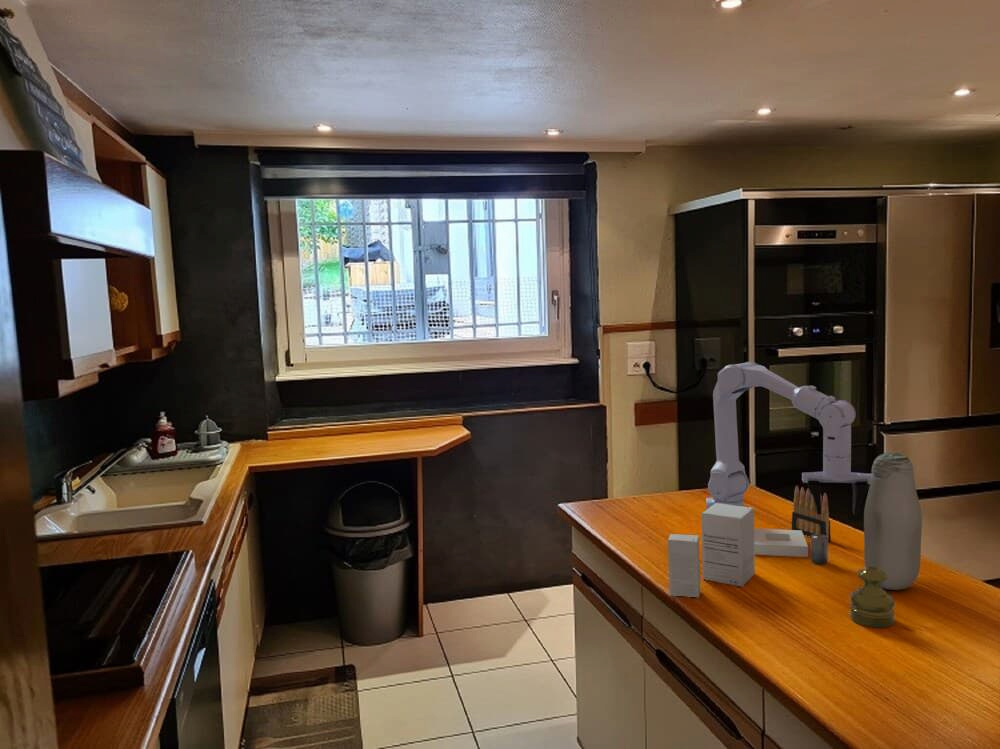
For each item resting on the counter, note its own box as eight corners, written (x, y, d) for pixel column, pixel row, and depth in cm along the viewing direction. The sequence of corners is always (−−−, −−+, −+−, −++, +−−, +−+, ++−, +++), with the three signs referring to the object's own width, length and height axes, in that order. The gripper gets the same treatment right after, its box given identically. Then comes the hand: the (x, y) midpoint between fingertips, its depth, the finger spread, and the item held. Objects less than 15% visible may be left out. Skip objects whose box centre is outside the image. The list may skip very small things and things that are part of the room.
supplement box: (715, 566, 170) (714, 501, 168) (755, 573, 165) (755, 507, 163) (701, 579, 163) (700, 512, 161) (742, 587, 157) (742, 518, 156)
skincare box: (700, 591, 157) (699, 535, 155) (699, 599, 153) (698, 541, 151) (671, 588, 159) (669, 533, 157) (668, 596, 155) (667, 539, 153)
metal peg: (812, 564, 169) (812, 538, 168) (809, 559, 172) (809, 533, 171) (828, 565, 168) (829, 539, 167) (826, 559, 171) (826, 534, 171)
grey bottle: (874, 574, 161) (875, 446, 158) (926, 586, 154) (929, 452, 151) (856, 588, 154) (857, 454, 152) (910, 601, 147) (912, 461, 144)
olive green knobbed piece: (892, 632, 135) (893, 578, 134) (847, 623, 139) (847, 571, 138) (896, 616, 141) (896, 564, 140) (852, 609, 145) (852, 558, 144)
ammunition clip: (830, 541, 184) (831, 493, 182) (825, 542, 183) (825, 494, 182) (796, 529, 193) (796, 484, 192) (791, 530, 192) (791, 485, 191)
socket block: (753, 554, 176) (753, 544, 176) (750, 538, 188) (750, 528, 188) (808, 557, 173) (808, 546, 173) (801, 540, 185) (801, 530, 185)
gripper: (805, 458, 167) (805, 517, 169) (876, 459, 164) (875, 519, 165) (800, 451, 174) (800, 508, 176) (869, 452, 171) (868, 510, 172)
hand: (836, 513), depth 171 cm, fingers open, 7 cm apart
